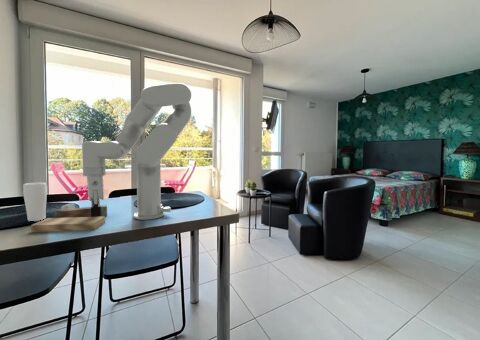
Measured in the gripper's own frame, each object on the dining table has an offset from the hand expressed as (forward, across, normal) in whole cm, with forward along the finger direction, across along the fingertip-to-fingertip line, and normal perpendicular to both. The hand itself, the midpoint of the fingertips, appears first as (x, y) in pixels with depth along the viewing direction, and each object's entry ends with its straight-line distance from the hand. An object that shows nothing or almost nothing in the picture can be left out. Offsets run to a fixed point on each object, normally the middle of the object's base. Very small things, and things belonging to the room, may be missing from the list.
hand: (95, 216), depth 87 cm
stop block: (+2, +17, +10) cm, 20 cm away
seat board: (+2, -5, +8) cm, 9 cm away
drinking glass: (+2, +12, +20) cm, 23 cm away
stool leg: (+1, +5, +5) cm, 7 cm away
